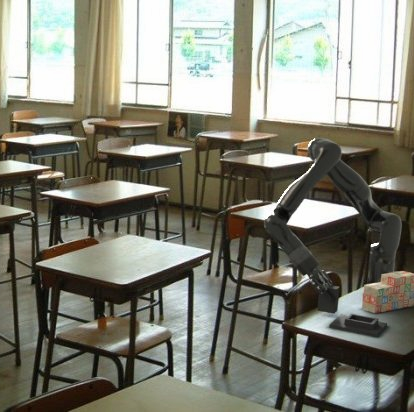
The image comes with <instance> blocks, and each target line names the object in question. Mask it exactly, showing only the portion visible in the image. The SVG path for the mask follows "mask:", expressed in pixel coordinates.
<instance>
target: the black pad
mask: <svg viewBox="0 0 414 412" xmlns="http://www.w3.org/2000/svg"><path fill="white" fill-rule="evenodd" d="M325 286H326V287H327V289H328V290H329V291H330V292H331V294H332V295H333V296H334V299H333V300H332V301H329V300H328V299H327V298H326V297H325V295H324V294H323V293H318V300H317V311H318V312H323V313H328V314H336V313H337V312H338V309H339V296H340V286H337V285H333V284H332V285H326V284H325ZM320 288H321V287H320Z"/></svg>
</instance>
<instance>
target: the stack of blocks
mask: <svg viewBox="0 0 414 412" xmlns="http://www.w3.org/2000/svg"><path fill="white" fill-rule="evenodd" d="M409 307H414V273H412V272H408V271H404V270H400V271H398V270H397V271H394V272H392V273H387V274H382V276H381V282H379V283H373V284H368V285H367V284H364V285H363V293H362V303H361V309H362V310H363V311H364V310H365V311H367V312H370V313H373V314H378V313H384V312H388V311H389V312H390V311H394V310H399V309H404V308H409Z"/></svg>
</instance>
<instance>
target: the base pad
mask: <svg viewBox="0 0 414 412" xmlns="http://www.w3.org/2000/svg"><path fill="white" fill-rule="evenodd" d="M387 327H388V322H383V321H380V319H379V318H377V317H371V316H366V315H361V314H357V313H349V314H348V315H347V314H343V313H342V314H339V315H338V316H337V317H335V319H334V320H333V321H332V322H330V323H329V325H328V328H329V329H334V330H337V331H338V330H339V331H343V332H348V333H354V334H359V335H364V336H368V337H373V338H378V337H379V336H380V335H381V334H382V333H383V331H384V330H385V329H386V328H387Z"/></svg>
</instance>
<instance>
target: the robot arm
mask: <svg viewBox="0 0 414 412" xmlns="http://www.w3.org/2000/svg"><path fill="white" fill-rule="evenodd" d="M307 154H308V157H309V158H310V160H311V161H312V162H313V164H312V166H311V168H309V169H308V171H306V173H304V174H303V175H302V176H300V177H299V178H298V179H296V180H294V182H292V183H291V184H290V185H289V186H288V188H287V189H286V190H285V191H284V193H283V194H282V196H281V197H280V199H279V200H278V202H277V205H276V206H275V208H273V210H272V212H271V213H270V214H268V215H267V216H266V217H265V218H264V220H263V225H264V226H263V227H264V229H265V230H266V232H267V233H268V234H269V235H270V236H271V238H272V239H274V240H275V242H276V243H277V244H278V246H279V247H280V249H281V250H282V252H283V253H284V254H285V255H286V256H287V258H288V259H289V261H290V263H292V265H293V266H294V267H295V268H296V270H297V271H298V272H299V274H300V275H301V276H302V277H305V276H307V277H308V281H307V283H308V284H309V285H310V286H311V287H312V288H313V289H314V290H315V291H316V292H317V293H318V294H319V293H323V294H324V295H325V297H326V298H327V299H328V300H329V301H332V300H333V299H334V296H333V295H332V294H331V292H330V291H329V290H328V289H327V287H326V286H325V284H326V285H332V286H333V281H332V280H331V278H330V276H329V275H328V273H327V271H325V269H323V270H321V269H320V268H318V267H319V266H320V262H319V261H318V260H317V258H316V257H315V256H314V255H313V253H312V252H311V251H310V249H309V248H308V247H306V246H305V245H304V243H303V242H302V240H300V239H299V237H298V236H297V235H296V234H295V233H294V232H293V231H292V230H291V228H290V227H289V225H288V222H289V221H290V220H291V218H292V216H293V215H294V214H295V213H296V211H297V210H298V209H299V207H300V206H301V204H302V203H303V202H304V200H305V199H306V198H307V196H308V195H309V194H310V192H311V191H312V190H313V189H314V188H315V187H316V186H317V185H318V184H319V182H321V180H323V178H324V177H325V176H327V177H328V178H329V179H330V181H331V183H333V185H334V186H335V187H336V188H337V189H338V191H339V192H340V193H341V195H342V196H343V197H344V198H345V199H346V201H347V202H348V203H349V204H350V205H351V206H352V207H353V208H354V210H355V211H356V212H357V213H358V214H359V215H360V216H361V219H362V220H363V221H364V223H365V224H366V226H367V228H368V229H369V230H370V231H371V232H372V233H373V234H375V235H378V236H379V241H378V242H377V243H373V244H371V245H370V250H369V258H368V259H369V260H368V270H367V280H366V281H367V282H366V285H368V284H373V283H379V282H381V276H382V274H387V273H392V272H395V266H396V255H397V250H398V248H399V246H400V241H401V236H402V235H401V233H402V228H403V226H402V225H403V224H402V218H401V217H400V216H399V215H398V214H396V213H392V212H389V211H385V210H383V209H381V208H380V207H379V206H378V205H377V203H376V202H375V201H374V200H373V197H372V190H371V187H370V186H369V184H368V183H367V181H365V180H364V178H363V177H362V176H361V175H360V174H359V173H358V172H357V171H356V170H354V169H353V168H352V167H350V166H349V165H348V164H347V163H345V162H344V161H343V160H342V159H341V158H342V154H343V152H342V148H341V146H340V145H339V144H338V143H336V142H334V141H332V140H330V139H327V138H325V137H316V138H314V139H313V140H311V141H310V142H309V144H308V146H307ZM320 287H321V288H320Z"/></svg>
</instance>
